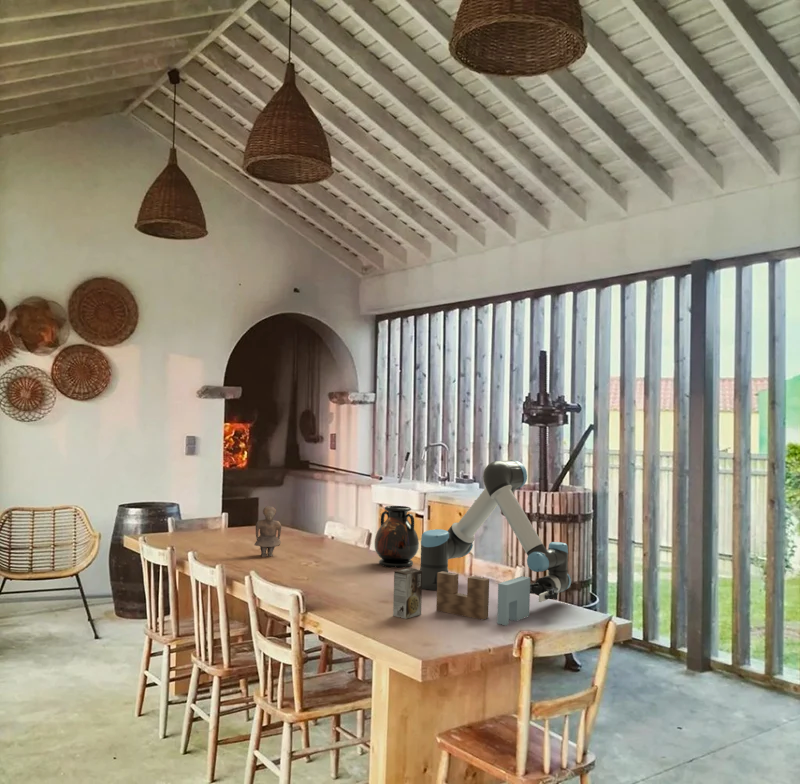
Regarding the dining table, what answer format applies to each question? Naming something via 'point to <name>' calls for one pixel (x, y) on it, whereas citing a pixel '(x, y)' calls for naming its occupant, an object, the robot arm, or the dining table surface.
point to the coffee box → (407, 593)
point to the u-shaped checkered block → (462, 596)
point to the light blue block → (513, 600)
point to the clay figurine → (268, 532)
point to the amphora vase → (396, 538)
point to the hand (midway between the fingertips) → (522, 595)
